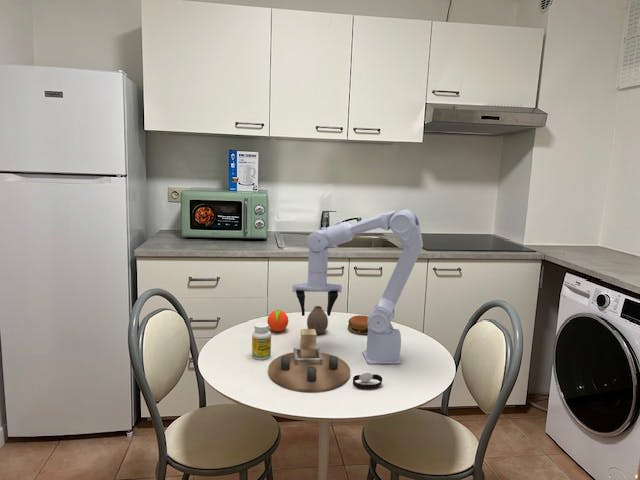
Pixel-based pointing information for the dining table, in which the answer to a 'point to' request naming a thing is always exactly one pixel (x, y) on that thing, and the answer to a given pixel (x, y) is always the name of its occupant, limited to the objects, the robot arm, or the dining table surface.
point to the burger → (358, 324)
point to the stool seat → (309, 372)
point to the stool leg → (308, 343)
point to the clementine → (277, 320)
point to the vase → (317, 320)
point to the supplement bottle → (261, 341)
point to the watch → (367, 377)
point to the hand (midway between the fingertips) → (315, 314)
